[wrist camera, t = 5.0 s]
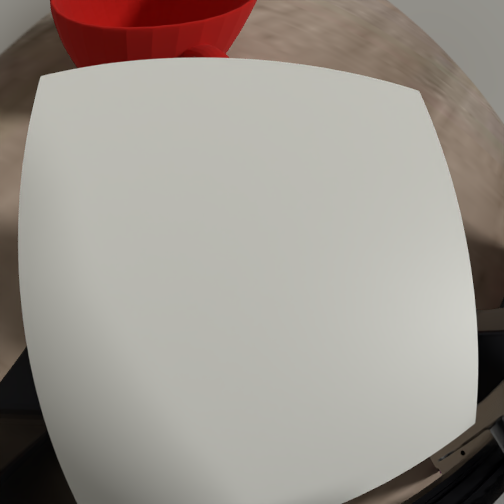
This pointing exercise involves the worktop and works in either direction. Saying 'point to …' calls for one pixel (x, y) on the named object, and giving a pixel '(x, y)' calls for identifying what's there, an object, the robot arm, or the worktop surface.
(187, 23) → the ceramic cup
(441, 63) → the worktop surface
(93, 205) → the keyed peg
